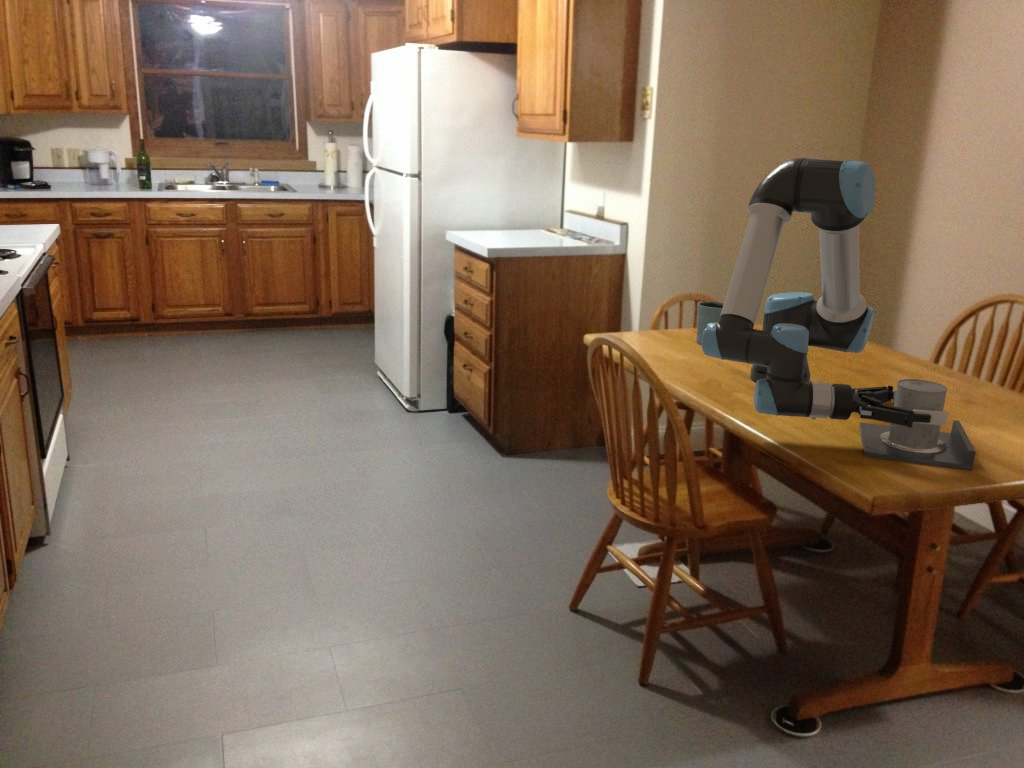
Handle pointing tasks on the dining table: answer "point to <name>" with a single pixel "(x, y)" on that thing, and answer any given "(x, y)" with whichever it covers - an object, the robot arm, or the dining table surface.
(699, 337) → the blue grey cup
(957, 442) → the plate
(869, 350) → the dining table surface
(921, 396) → the speckled tin can
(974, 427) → the dining table surface
